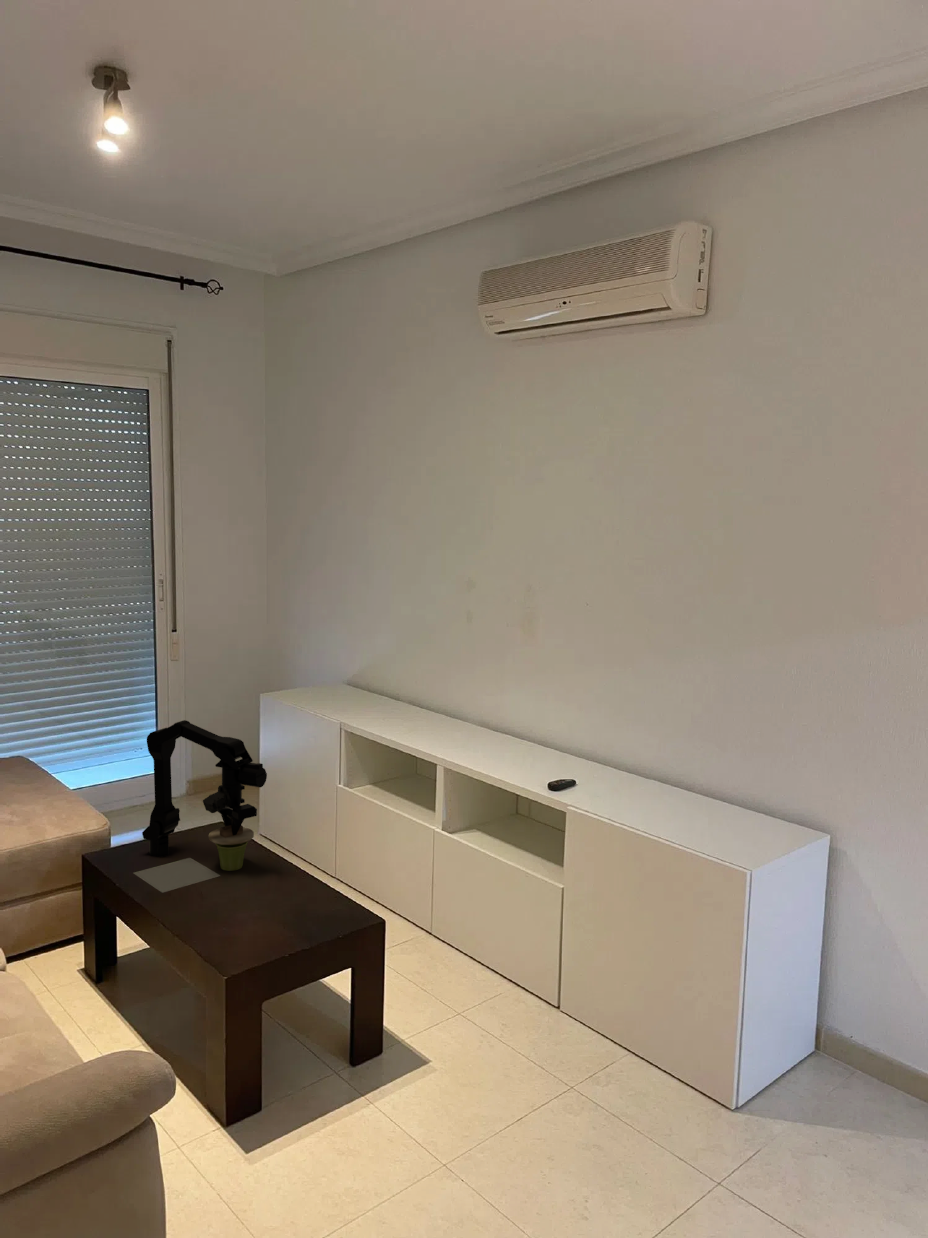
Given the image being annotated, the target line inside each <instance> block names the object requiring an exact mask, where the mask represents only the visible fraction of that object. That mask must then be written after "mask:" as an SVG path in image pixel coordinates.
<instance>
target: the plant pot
mask: <svg viewBox="0 0 928 1238" xmlns="http://www.w3.org/2000/svg"><path fill="white" fill-rule="evenodd" d="M248 843H249V841H247V842H244V843H240V844H233V845H222V844H216V843H214V845H215V846H216V848H217V851H218V858H219V865H220V869H221V870H223V871H229V872H231V871H232V872H233V871H237V870H240V869H242V868H243V864H244V858H245V852H246V848H247V845H248Z"/></svg>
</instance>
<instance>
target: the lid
mask: <svg viewBox="0 0 928 1238" xmlns="http://www.w3.org/2000/svg"><path fill="white" fill-rule="evenodd" d="M254 836H255V832H254V831H253V830H252V829H251V828H250V827H249V828H248V827H244V825H242V824H241V826H240V828H239V830H238V832H237V834H236V835H233V834H232V827H231V825H229V826H225V825H224V826H222V827H219V828H217V829H213V830H212V831H210V832H209V834H208V840H209V841H210V842H211V843H214V844H215V843H216V844H222V845H233V844H240V843H244V842H247V841H248V842H249V841H251V840H252V839H253V838H254ZM216 844H215V845H216Z"/></svg>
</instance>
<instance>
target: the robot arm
mask: <svg viewBox="0 0 928 1238" xmlns="http://www.w3.org/2000/svg"><path fill="white" fill-rule="evenodd" d="M181 737H182V738H183V739H186V740H188V741H190V742H192V743H195V744H196V745H198V746H199V745H200V746H201V747H203V748H206V749H208V750H209V751H211V752H212V754H213V755H214V756H215V757H216V758H218V759H219V761H218V762H217V763H216V764H215V767H216V768H220V769H221V785H218V787H217V791H216V792H214V793H212V794H209V796H207V797H206V798H204V799H202V803H203V806H204V808H205V811H207V812H209V813H211V814H215V813H219V814H220V816H221V819H222V821H223V824H224V827H225V826H229V825H231V827H232V834H233V835H236V834H237V832H238V830H239V828H240V826H241V825H242V824H243V823H244V820H246V819H250V818H254V817H257V815H258V808H257V807H255V806H254V805H251V804H250V803H246V804H244V803H245V802H246V801H245V798H243V797H242V794H243V793H242V792H243V790H245V786H248V787H255V788H262V787H264V786H265V784H266V782H267V779H268V776H267V775H268V773H267V770H266V769H265V768H264V765H263V763H261V762H258V763H257V762H256V763H255V762H254V759H253V758H252V757H251V755H250V754H249V752H248V750H247V749H246V746H245V744H244V741H243V740H241V739H239V738H235V737H231V736H221V735H219V734H218V735H217V734H216V733H214V732H212V731H209V730H207V729H205V728H202V727H200V726H197V725H195V724H193V723H191V722H190V721H189V720H186V719H183V720H180V721H177V722H174V723H173V724H172V725H170V726H168V727H164V728H160V729H157V730H155V731H152V732H150V733H149V734H148V735H147V736H146V746H147V751H148V753H149V755H150V756H151V758H152V759H153V779H154V781H153V782H154V783H153V784H154V787H153V788H154V806H153V809H152V811H151V813H150V819H149V825H148V826H147V827H146V828H145V829H144V830H143V831H142V832H141V834H142V837H143V840H146V841H147V840H148V842H149V843H148V851H149V852H148V853H149V855H150V856H153V857H160V858H161V857H166V856H169V853H170V846H169V844H170V842H169V841H170V840H169V839H170V837H169V836H170V835H171V834H174V833H175V829H176V828H177V827H178V826H179V822H180V821H181V817H180V812H181V811H180V808H178V807H177V808H176V807H175V806H174V804H173V797H172V796H173V795H172V793H173V792H172V788H173V787H172V755H173V753H174V751H175V748H176V744H177V743H176V742H177V740H178V739H179V738H181ZM241 804H242V805H241Z"/></svg>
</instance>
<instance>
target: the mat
mask: <svg viewBox="0 0 928 1238" xmlns="http://www.w3.org/2000/svg"><path fill="white" fill-rule="evenodd" d="M133 875H135V876H136V877H138V878H140V879H141V880H143V881H144V882H145V883H147V884H149V886H151V887H153V888H154V889H156V890H157V891H159V892H160V893H161V894H163V893H167V892H170V891H173V890H176V889H180V888H184V887H187V886H190V885H194V884H197V883H201V882H204V881H208V880H211V879H214V878H217V877H218V878H219V877H221V875H220V874H219V873H217V872H215V871H214V870H212V869H210V868H209V867H207V866H205V865H204V864H202V863H200V862H198V861H196V860H194V859H193V858H191V857H187V858H183V859H179V860H177V861H173V862H170V863H166V864H161V865H158V866H154V867H149V868H146V869H142V870H139V871H136V872H135V871H134V872H133Z"/></svg>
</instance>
